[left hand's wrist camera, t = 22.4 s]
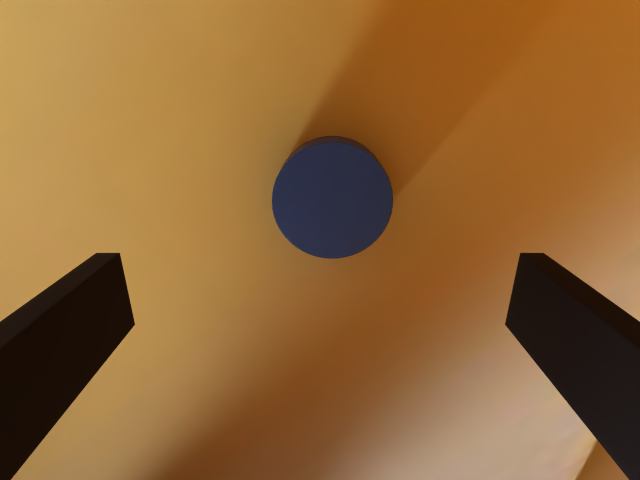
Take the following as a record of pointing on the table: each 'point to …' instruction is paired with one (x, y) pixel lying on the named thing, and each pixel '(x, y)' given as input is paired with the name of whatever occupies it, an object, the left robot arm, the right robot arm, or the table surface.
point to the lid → (332, 197)
